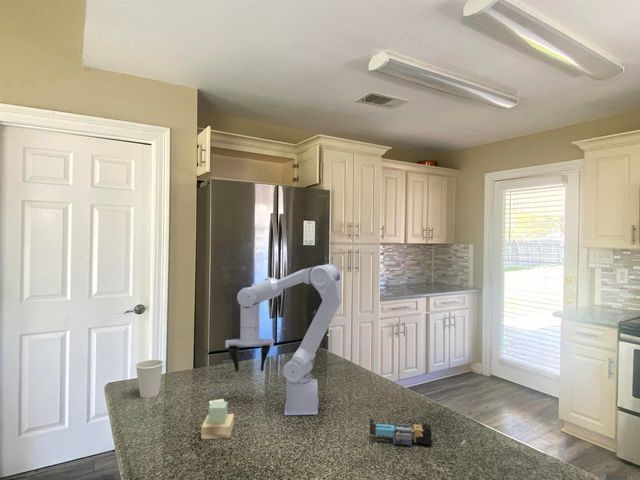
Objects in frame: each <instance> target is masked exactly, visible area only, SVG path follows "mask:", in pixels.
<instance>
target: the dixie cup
mask: <svg viewBox="0 0 640 480" xmlns="http://www.w3.org/2000/svg"><path fill="white" fill-rule="evenodd" d="M164 363H165V362H164V360H161V359H146V360H142V361H139V362H137V363H136V364H135V369H136V377H137V384H138V391H139V396H140V398H142V399H144V398H145V399H149V398H153V397H156V396H158V395H159V394H160V390H161V389H160V388H161V383H162V374H163V367H164Z"/></svg>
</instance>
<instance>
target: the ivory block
mask: <svg viewBox="0 0 640 480" xmlns="http://www.w3.org/2000/svg"><path fill="white" fill-rule="evenodd" d="M212 402H226V401H225V399H224V398H220V399H214V400H209V401H208V408H209V407H210V405H211V403H212Z"/></svg>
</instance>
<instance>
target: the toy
mask: <svg viewBox="0 0 640 480" xmlns="http://www.w3.org/2000/svg"><path fill="white" fill-rule="evenodd" d="M374 420H375V419H374V418H370V420H369V421H370V422H369V435H374V436H386V437H387V436H388V437H392V441H391V442H390V441H389V440H387V443H388V444H389V445H390V444H391V445H404V446H408V447H412V446H413V443H416V444H423V445H429V444H430V445H432V444H433V440H432V427H431V425H430V423H429V424H428V422H425V423H422V424H414V423H413V426H412V424H409V423H408V424H405V423H399V422H395V423H394V424H385V423H374V422H375V421H374Z"/></svg>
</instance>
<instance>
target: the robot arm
mask: <svg viewBox="0 0 640 480" xmlns="http://www.w3.org/2000/svg"><path fill="white" fill-rule="evenodd" d="M341 282H342V275H341V273H340V271H339V269H338V267H337V266H336V265H334V264H332V263H326V264H323V265H319V264H318V265H316V266H312V267H308V268H303V269H300V270H297V271H295V272H293V273H291V274H288V275H286V276H285V277H282V278H280V279H277V278H275V277H270V276H269V277H265V278H264V280H263V281H260V282H258V283H256V282H255V283H252V284H251V286H250V287H249V286H248V287H243V288H242V289H240V290H239V291H238V293H237V296H236V299H237V303H238V305H240V331H239V332H240V333H239V334H240V338H234V339H226V340H225V343H224V344H225V346H224V347H225V348H226V349H228V353H229V354H230V357H231V359H232V362H233V365H234V370H235V372H238V371H239V369H240V362H239V355H240V354H239V351H240V348H248V347H249V348H251V347H255V348H257V347H258V348H260V347H261V349H260V354H261V355H260V356H261V357H260V358H261V360H260V361H261V363H260V372H263V371H264V368H265V362H266V360H267V357H268V354H269V353H270V349H271V348H274V343H275V339H272V338H271V339H268V338H260V305H261V303H263V302H266V301H268V300H271V299H273V298H276V297H278V296H280V295H281V293H282V291H283V290H284V289H287V288H290V287H292V286H296V285H299V284H302V283H304V284H306V285H311V284H312V286H313V287H314V288H315V290H316V291H317V292H318V294H319V296H320V298H321V300H322V301H321V304H320V305H319V307H318V309H317V311H316V313H315V315H314V316H313V319H312V321H311V323H310V325H309V327H308V329H307V331H306V333H305V335H304V337H303V339H302V341H301V343H300V344H299V347H298V348H297V350H296V351H295V352H294V353H293V355H292V357H291V359H289V361H287V362H286V363H285V364H284V366H283V368H282V369H283V370H282V374H283V376H284V378H285V380H286V381H285V382H286V383H285V384H286V385H285V386H286V388H285V389H286V391H285V392H286V395H285V396H286V397H285V398H286V400H285V402H284V416H317V415H318V414H319V413H318V410H319V407H318V406H319V387H318V379H317V378H312V377H311V371H312V370H313V368H314V360H315V357H316V356H317V355H316V352H317V350H318V348H319V346H320V345H321V343H322V340H323V339H324V336H325V334H326V333H327V331H328V328H329V327H330V324H331V323H332V321H333V319H334V317H335V315H336V313H337V311H338V309H339V308H340V304H341V303H342V300H343V299H342V297H343V296H342V283H341Z"/></svg>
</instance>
